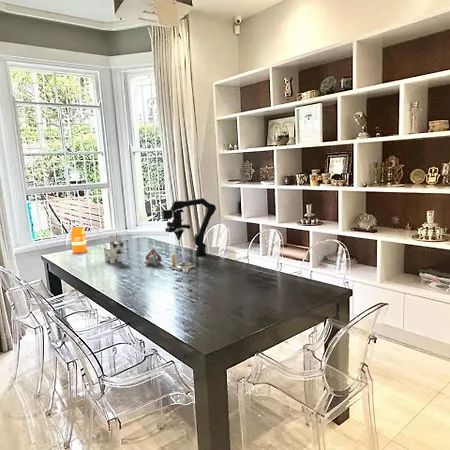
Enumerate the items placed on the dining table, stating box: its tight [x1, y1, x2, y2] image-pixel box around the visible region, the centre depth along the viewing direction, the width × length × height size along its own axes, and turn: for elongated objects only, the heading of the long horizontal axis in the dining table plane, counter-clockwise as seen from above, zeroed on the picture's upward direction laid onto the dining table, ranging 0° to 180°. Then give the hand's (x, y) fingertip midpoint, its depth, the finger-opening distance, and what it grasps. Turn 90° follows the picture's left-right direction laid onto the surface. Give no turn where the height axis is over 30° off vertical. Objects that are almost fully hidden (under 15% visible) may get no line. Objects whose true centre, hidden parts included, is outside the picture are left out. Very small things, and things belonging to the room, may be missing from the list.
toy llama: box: [103, 233, 125, 265], centre depth 275 cm, size 8×18×20 cm, turn 42°
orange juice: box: [70, 226, 88, 254], centre depth 313 cm, size 8×9×20 cm
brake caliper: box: [143, 248, 162, 267], centre depth 264 cm, size 11×11×12 cm
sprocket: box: [168, 253, 196, 271], centre depth 257 cm, size 18×18×9 cm
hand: (178, 239), depth 281 cm, fingers closed
